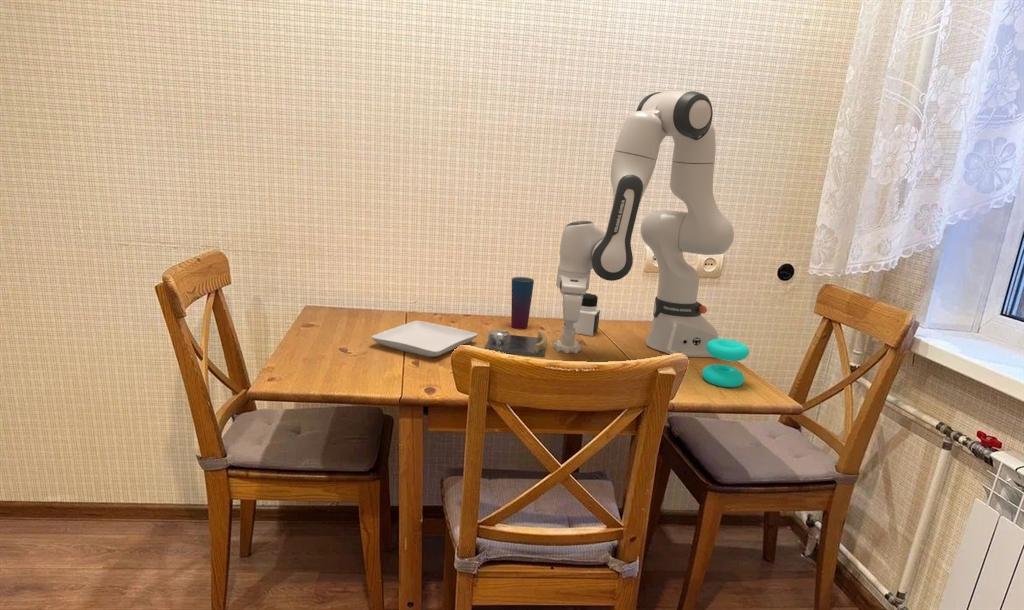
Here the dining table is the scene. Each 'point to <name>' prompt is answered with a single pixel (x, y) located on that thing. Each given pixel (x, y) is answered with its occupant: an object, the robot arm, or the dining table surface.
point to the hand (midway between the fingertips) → (567, 330)
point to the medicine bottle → (588, 316)
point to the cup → (521, 301)
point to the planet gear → (567, 343)
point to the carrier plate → (516, 343)
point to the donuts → (725, 373)
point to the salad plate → (424, 338)
